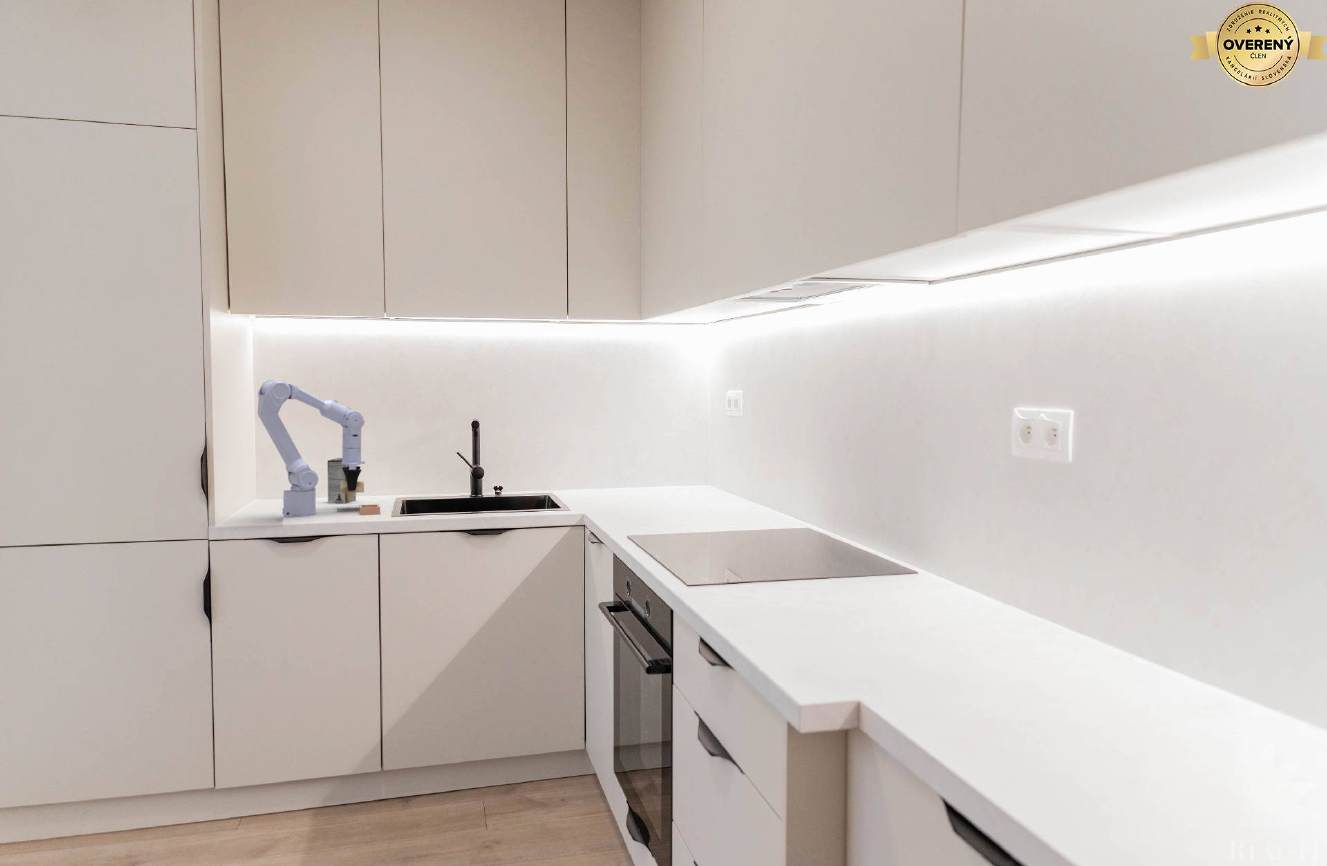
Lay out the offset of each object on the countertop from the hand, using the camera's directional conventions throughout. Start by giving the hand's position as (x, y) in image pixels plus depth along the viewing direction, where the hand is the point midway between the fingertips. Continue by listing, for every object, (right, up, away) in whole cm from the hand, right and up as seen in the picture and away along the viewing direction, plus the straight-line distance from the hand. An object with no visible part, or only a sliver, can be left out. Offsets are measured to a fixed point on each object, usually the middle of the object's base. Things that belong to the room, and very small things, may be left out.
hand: (351, 489), depth 267 cm
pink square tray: (+8, -8, -5) cm, 13 cm away
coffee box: (-10, -7, +17) cm, 21 cm away
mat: (0, -8, +1) cm, 8 cm away
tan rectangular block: (0, -1, 0) cm, 1 cm away
